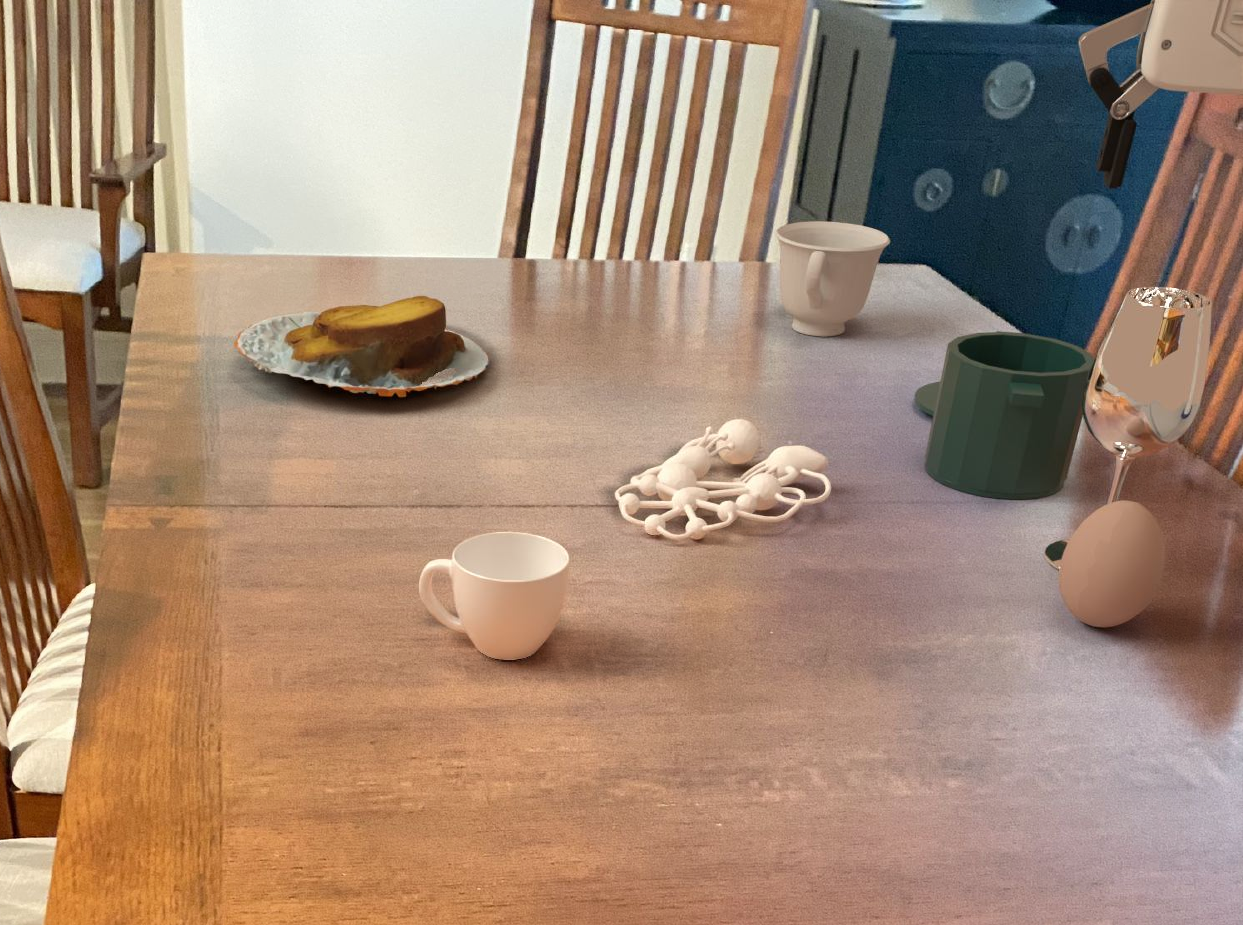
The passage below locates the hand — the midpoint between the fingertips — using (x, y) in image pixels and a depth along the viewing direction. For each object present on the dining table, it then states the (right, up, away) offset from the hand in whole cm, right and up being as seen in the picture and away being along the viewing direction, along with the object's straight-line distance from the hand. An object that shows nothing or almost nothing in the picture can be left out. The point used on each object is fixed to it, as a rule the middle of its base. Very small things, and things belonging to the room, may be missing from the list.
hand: (1191, 189), depth 95 cm
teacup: (-7, +12, +69) cm, 71 cm away
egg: (-1, -26, +12) cm, 29 cm away
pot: (+1, -10, +36) cm, 37 cm away
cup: (-44, -28, +8) cm, 53 cm away
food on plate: (-55, +4, +56) cm, 79 cm away
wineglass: (+3, -20, +21) cm, 29 cm away
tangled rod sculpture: (-24, -14, +29) cm, 40 cm away
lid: (+4, -1, +48) cm, 48 cm away
